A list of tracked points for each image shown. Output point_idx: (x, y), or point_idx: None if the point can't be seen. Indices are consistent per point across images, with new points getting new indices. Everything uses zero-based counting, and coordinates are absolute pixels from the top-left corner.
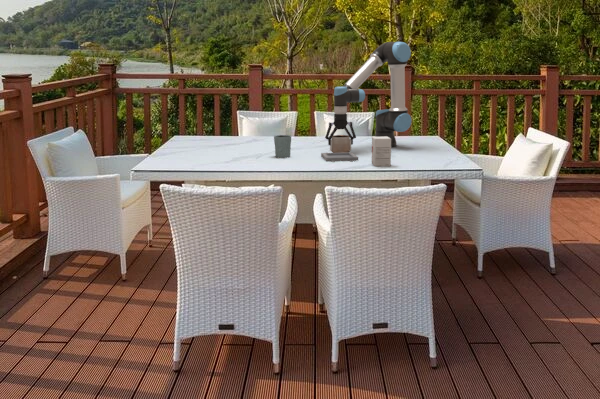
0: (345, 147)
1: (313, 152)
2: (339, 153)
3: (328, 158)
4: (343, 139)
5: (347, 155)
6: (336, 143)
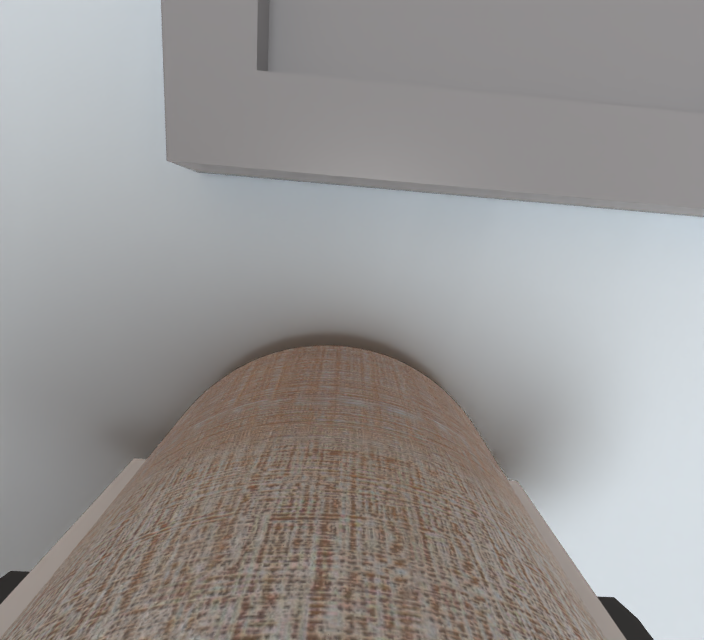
0: (251, 393)
1: (678, 620)
2: (480, 94)
3: None
4: (260, 576)
5: (308, 31)
6: (514, 514)
